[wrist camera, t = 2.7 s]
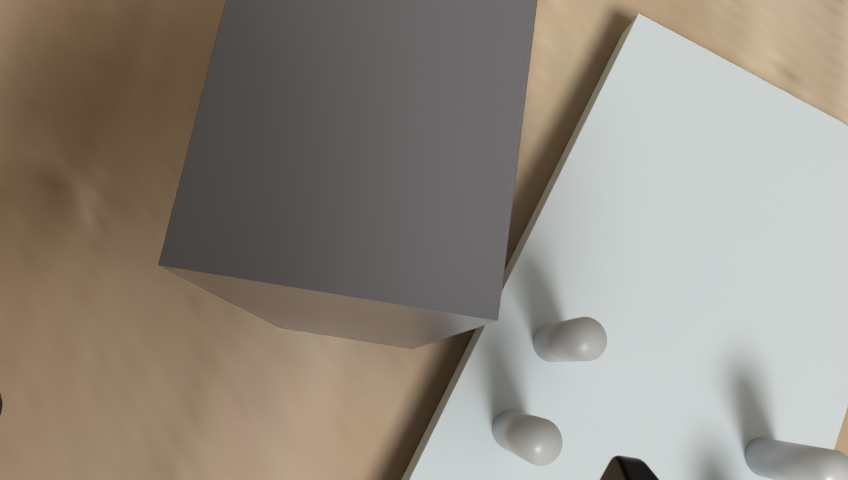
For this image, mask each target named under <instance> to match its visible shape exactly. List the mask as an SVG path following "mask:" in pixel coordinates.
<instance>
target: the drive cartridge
mask: <svg viewBox="0 0 848 480" xmlns="http://www.w3.org/2000/svg"><path fill="white" fill-rule="evenodd" d="M536 7H537V0H226V2H225V6H224V10H223V14H222V18H221V22H220V26H219V30H218V33H217V37H216V41H215V45H214V49H213V53H212V57H211V61H210V65H209V69H208V73H207V77H206V80H205V84H204V88H203V92H202V96H201V100H200V104H199V108H198V112H197V116H196V120H195V123H194V127H193V131H192V135H191V139H190V143H189V147H188V151H187V155H186V159H185V163H184V167H183V170H182V174H181V178H180V182H179V186H178V190H177V194H176V198H175V202H174V206H173V210H172V214H171V217H170V221H169V225H168V229H167V233H166V237H165V241H164V245H163V249H162V253H161V257H160V260H159V264H158V265H159V266H161V267H163V268H165V269H167V270H169V271H171V272H172V273H174V274H176V275H178V276H180V277H182V278H184V279H186V280H188V281H190V282H192V283H194V284H196V285H198V286H200V287H202V288H204V289H206V290H207V291H209V292H211V293H213V294H215V295H217V296H219V297H221V298H223V299H225V300H227V301H229V302H231V303H233V304H235V305H237V306H239V307H241V308H242V309H244V310H246V311H248V312H250V313H252V314H254V315H256V316H258V317H260V318H262V319H264V320H266V321H268V322H270V323H272V324H274V325H275V326H277V327H279V328H285V329H291V330H297V331H304V332H310V333H316V334H323V335H329V336H335V337H342V338H348V339H354V340H360V341H367V342H373V343H379V344H386V345H392V346H398V347H405V348H411V349H414V348H417V347H420V346H423V345H426V344H429V343H432V342H435V341H438V340H441V339H444V338H447V337H450V336H454V335H457V334H460V333H463V332H466V331H469V330H472V329H475V328H478V327H481V326H484V325H487V324H490V323H493V322H496V321H498V317H499V309H500V301H501V293H502V285H503V276H504V268H505V260H506V252H507V244H508V236H509V228H510V219H511V211H512V203H513V195H514V187H515V179H516V170H517V162H518V154H519V146H520V138H521V130H522V122H523V113H524V105H525V97H526V89H527V81H528V73H529V65H530V56H531V48H532V40H533V32H534V24H535V16H536Z"/></svg>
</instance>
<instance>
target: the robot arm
mask: <svg viewBox="0 0 848 480" xmlns="http://www.w3.org/2000/svg"><path fill="white" fill-rule="evenodd" d="M1 411H2V398H1V394H0V415H1ZM600 480H659V479H658V477H657V476H656V475H655V474H654V473H653V471H652V470H651V469H650V468H649V466H648V465H647V464H646V463H645V462H644V461H642V460H641V459H638V458H633V457H627V456H620V455H618V456H615V457H613V458H612V459H611V460H610V462H609V464H608V466H607V467H606V469H605V471H604V473H603V475H602V476H601V478H600Z"/></svg>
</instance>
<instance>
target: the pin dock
mask: <svg viewBox="0 0 848 480" xmlns="http://www.w3.org/2000/svg"><path fill="white" fill-rule="evenodd" d="M847 407H848V125H846V124H844V123H842V122H840V121H838V120H837V119H835V118H833V117H831V116H829V115H827V114H825V113H824V112H822V111H820V110H818V109H816V108H814V107H812V106H811V105H809V104H807V103H805V102H803V101H801V100H799V99H798V98H796V97H794V96H792V95H790V94H788V93H786V92H784V91H783V90H781V89H779V88H777V87H775V86H773V85H771V84H770V83H768V82H766V81H764V80H762V79H760V78H758V77H757V76H755V75H753V74H751V73H749V72H747V71H745V70H744V69H742V68H740V67H738V66H736V65H734V64H732V63H730V62H729V61H727V60H725V59H723V58H721V57H719V56H717V55H716V54H714V53H712V52H710V51H708V50H706V49H704V48H703V47H701V46H699V45H697V44H695V43H693V42H691V41H690V40H688V39H686V38H684V37H682V36H680V35H678V34H676V33H675V32H673V31H671V30H669V29H667V28H665V27H663V26H662V25H660V24H658V23H656V22H654V21H652V20H650V19H649V18H647V17H645V16H643V15H641V14H638V15H637V16H636V17H635V19H634V20H633V21H632V22H631V24H630V25H629V26H628V27H627V29H626V30H625V31H624V32H623V34H622V35H621V37H620V39H619V41H618V43H617V45H616V47H615V49H614V51H613V53H612V55H611V57H610V59H609V61H608V63H607V65H606V67H605V69H604V71H603V73H602V75H601V77H600V79H599V81H598V83H597V85H596V87H595V89H594V91H593V93H592V95H591V98H590V100H589V102H588V104H587V106H586V108H585V110H584V112H583V114H582V116H581V118H580V120H579V122H578V124H577V126H576V128H575V130H574V132H573V134H572V136H571V138H570V140H569V142H568V144H567V146H566V148H565V150H564V152H563V154H562V156H561V158H560V160H559V162H558V164H557V166H556V168H555V170H554V172H553V174H552V176H551V178H550V180H549V182H548V184H547V186H546V188H545V190H544V192H543V194H542V196H541V198H540V201H539V203H538V205H537V207H536V209H535V211H534V213H533V215H532V217H531V219H530V221H529V223H528V225H527V227H526V229H525V231H524V233H523V235H522V237H521V239H520V241H519V243H518V245H517V247H516V249H515V251H514V253H513V255H512V257H511V259H510V261H509V263H508V265H507V267H506V269H505V271H504V276H503V285H502V293H501V301H500V309H499V317H498V321H496V322H493V323H490V324H487V325H484V326H481V327H478V328H476V330H475V332H474V334H473V336H472V338H471V340H470V342H469V344H468V346H467V348H466V350H465V352H464V354H463V356H462V358H461V360H460V362H459V364H458V366H457V368H456V370H455V372H454V374H453V376H452V378H451V380H450V382H449V384H448V386H447V388H446V390H445V392H444V394H443V396H442V398H441V400H440V402H439V404H438V407H437V409H436V411H435V413H434V415H433V417H432V419H431V421H430V423H429V425H428V427H427V429H426V431H425V433H424V435H423V437H422V439H421V441H420V443H419V445H418V447H417V449H416V451H415V453H414V455H413V457H412V459H411V461H410V463H409V465H408V467H407V469H406V471H405V473H404V475H403V477H402V479H401V480H600V478H601V476H602V475H603V473H604V471H605V469H606V467H607V466H608V464H609V462H610V460H611V459H612V458H613V457H615V456H618V455H620V456H627V457H633V458H638V459H641V460H642V461H644V462H645V463H646V464H647V465H648V466H649V468H650V469H651V470H652V471H653V473H654V474H655V475H656V476H657V477H658V479H659V480H848V457H847V456H846V455H845V454H844V453H842V452H840V451H837V450H834V448H835V444H836V441H837V438H838V435H839V432H840V429H841V426H842V423H843V419H844V416H845V413H846V410H847Z"/></svg>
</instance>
